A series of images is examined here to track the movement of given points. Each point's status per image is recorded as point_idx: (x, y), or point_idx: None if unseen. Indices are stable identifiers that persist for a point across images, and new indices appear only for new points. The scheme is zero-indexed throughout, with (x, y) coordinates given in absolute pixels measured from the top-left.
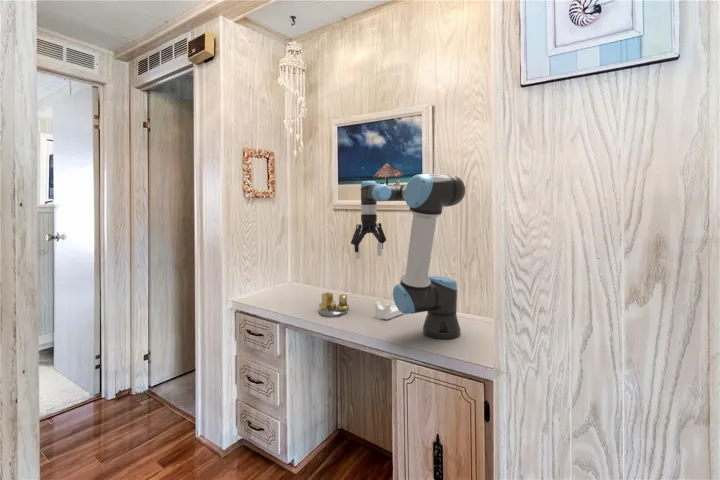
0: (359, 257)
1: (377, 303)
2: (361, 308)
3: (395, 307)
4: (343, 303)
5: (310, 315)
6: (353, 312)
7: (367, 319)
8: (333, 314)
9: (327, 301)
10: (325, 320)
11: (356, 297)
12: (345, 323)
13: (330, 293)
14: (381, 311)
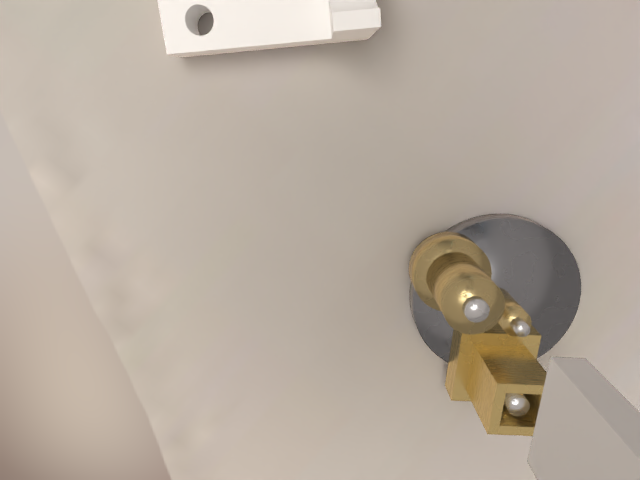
0: (600, 380)
1: (369, 9)
2: (301, 249)
3: None
4: (476, 263)
5: (605, 338)
6: (394, 220)
7: (430, 47)
8: (552, 233)
9: (525, 359)
10: (616, 213)
11: (174, 435)
12: (581, 86)
13: (497, 405)
14: None
